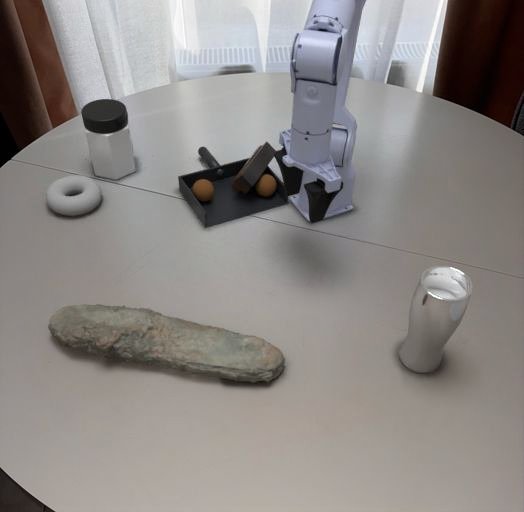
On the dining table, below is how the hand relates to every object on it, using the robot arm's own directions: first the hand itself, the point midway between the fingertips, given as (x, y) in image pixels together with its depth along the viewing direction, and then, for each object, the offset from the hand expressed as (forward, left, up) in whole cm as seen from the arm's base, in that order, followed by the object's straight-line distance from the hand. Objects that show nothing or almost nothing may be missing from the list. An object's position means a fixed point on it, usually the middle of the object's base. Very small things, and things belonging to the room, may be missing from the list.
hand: (304, 207), depth 91 cm
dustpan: (+3, -25, -10) cm, 27 cm away
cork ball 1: (+8, -22, -8) cm, 25 cm away
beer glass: (-5, +27, -11) cm, 29 cm away
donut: (+30, -31, -11) cm, 44 cm away
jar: (+20, -39, -11) cm, 45 cm away
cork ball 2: (-3, -18, -8) cm, 20 cm away
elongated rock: (+28, +9, -11) cm, 31 cm away
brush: (-2, -20, -4) cm, 21 cm away
